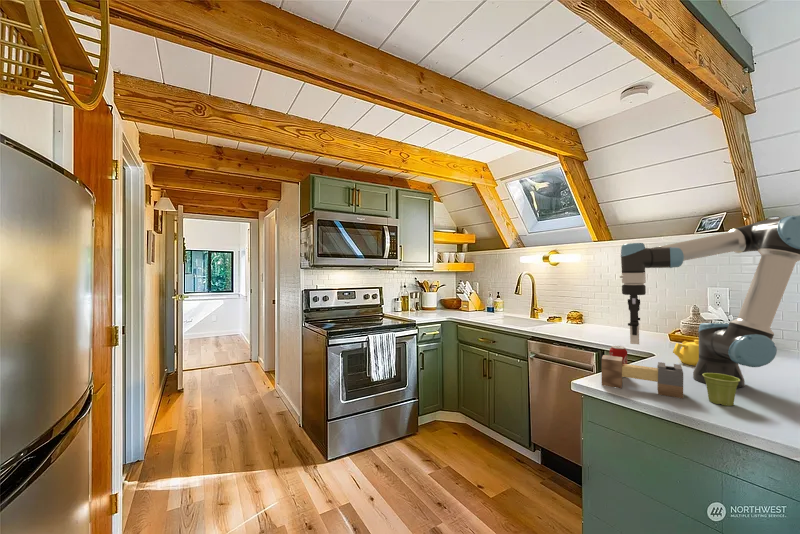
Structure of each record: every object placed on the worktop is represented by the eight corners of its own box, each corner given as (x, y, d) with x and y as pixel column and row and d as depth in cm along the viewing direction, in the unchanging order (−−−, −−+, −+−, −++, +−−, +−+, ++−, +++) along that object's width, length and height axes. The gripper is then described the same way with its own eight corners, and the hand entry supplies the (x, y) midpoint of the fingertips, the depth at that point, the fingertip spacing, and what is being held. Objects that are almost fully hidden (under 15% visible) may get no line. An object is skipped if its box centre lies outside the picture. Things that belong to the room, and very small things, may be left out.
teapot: (706, 358, 176) (706, 336, 176) (733, 369, 158) (733, 344, 158) (660, 356, 179) (660, 334, 179) (682, 367, 161) (683, 342, 161)
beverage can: (630, 378, 144) (630, 349, 144) (612, 377, 146) (612, 348, 146) (623, 374, 151) (623, 345, 151) (607, 373, 152) (607, 345, 152)
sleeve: (681, 392, 129) (681, 364, 128) (683, 398, 123) (683, 369, 123) (657, 388, 132) (657, 361, 132) (658, 394, 127) (658, 366, 127)
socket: (622, 383, 139) (622, 357, 139) (621, 388, 133) (621, 361, 133) (603, 380, 142) (603, 354, 142) (601, 385, 136) (601, 358, 136)
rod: (661, 379, 131) (661, 368, 131) (661, 382, 127) (661, 371, 127) (610, 372, 140) (610, 361, 140) (609, 374, 136) (609, 364, 136)
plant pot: (694, 398, 123) (694, 372, 123) (720, 397, 124) (720, 372, 124) (721, 408, 114) (721, 381, 114) (748, 407, 115) (748, 380, 115)
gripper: (622, 282, 147) (623, 334, 147) (620, 285, 127) (622, 345, 127) (644, 282, 143) (645, 335, 143) (646, 286, 122) (647, 348, 122)
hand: (634, 340), depth 135 cm, fingers open, 13 cm apart
